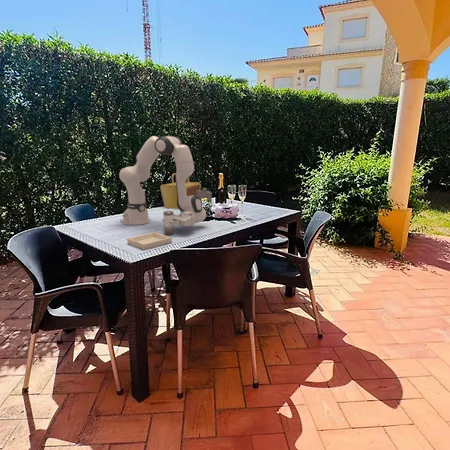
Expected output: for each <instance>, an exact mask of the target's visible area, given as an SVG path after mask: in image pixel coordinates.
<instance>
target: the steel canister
mask: <svg viewBox="0 0 450 450" xmlns="http://www.w3.org/2000/svg"><path fill="white" fill-rule="evenodd" d="M173 214H174V211H171V210H167V211H166V210H165V211H163V219H164V222H163V227H164V229H163V231H164V232H163V233H164V234H163V235H165V236H169V237H172V236H175V232H174V231H175V229H174V227H175V226H174V225H172V224H171V222H172V221H173Z"/></svg>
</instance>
